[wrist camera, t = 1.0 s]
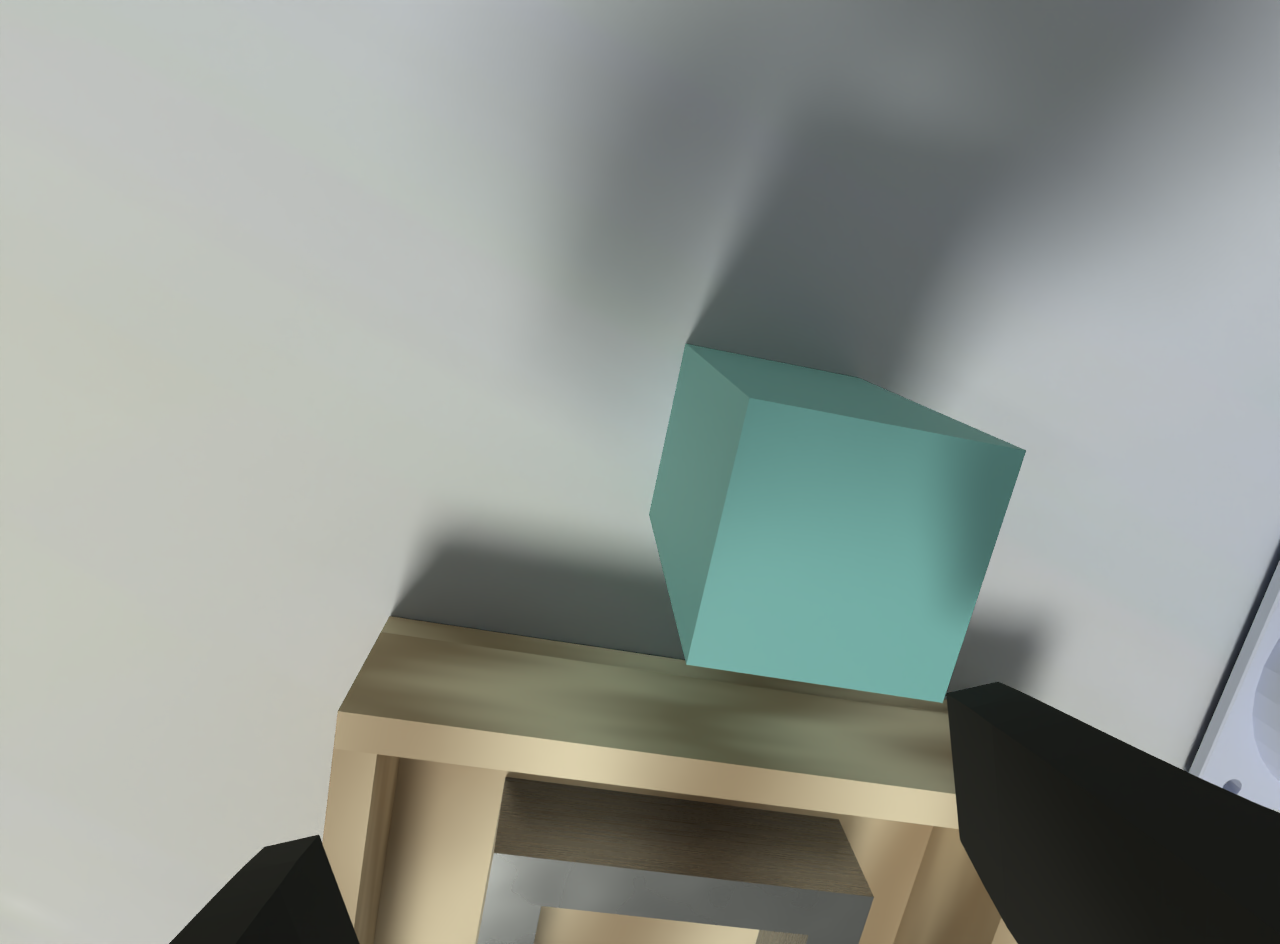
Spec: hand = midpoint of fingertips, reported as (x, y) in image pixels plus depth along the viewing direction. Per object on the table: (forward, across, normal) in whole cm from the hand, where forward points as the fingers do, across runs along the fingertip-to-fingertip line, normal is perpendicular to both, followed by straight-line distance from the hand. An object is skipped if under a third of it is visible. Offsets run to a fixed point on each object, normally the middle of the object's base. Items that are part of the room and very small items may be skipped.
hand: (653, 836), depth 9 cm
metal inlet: (+9, +1, +11) cm, 14 cm away
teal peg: (+10, -4, -1) cm, 10 cm away
